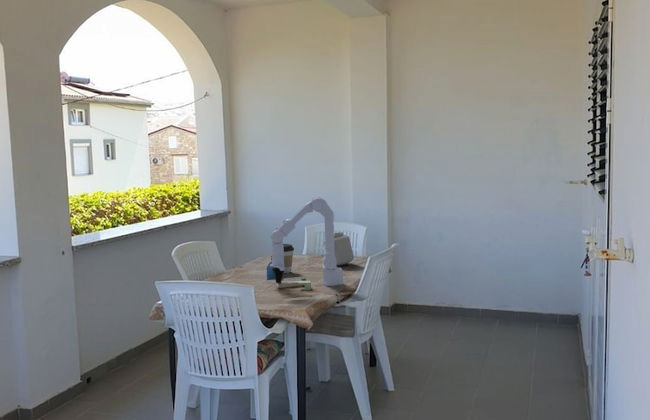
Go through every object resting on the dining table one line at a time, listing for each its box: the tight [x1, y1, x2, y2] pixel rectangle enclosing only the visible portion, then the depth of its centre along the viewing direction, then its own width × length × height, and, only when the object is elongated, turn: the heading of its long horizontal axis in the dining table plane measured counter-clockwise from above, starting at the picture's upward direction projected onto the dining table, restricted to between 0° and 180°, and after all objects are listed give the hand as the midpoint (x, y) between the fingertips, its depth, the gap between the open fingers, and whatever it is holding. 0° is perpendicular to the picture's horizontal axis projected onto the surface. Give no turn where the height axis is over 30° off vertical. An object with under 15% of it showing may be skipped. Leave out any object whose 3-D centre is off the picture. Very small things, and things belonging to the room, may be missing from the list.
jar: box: [321, 231, 355, 267], centre depth 349 cm, size 19×15×25 cm
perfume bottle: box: [266, 255, 276, 281], centre depth 317 cm, size 6×6×12 cm
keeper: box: [298, 280, 312, 290], centre depth 286 cm, size 4×6×3 cm
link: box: [276, 279, 308, 288], centre depth 291 cm, size 15×4×2 cm, turn 110°
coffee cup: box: [283, 243, 295, 274], centre depth 332 cm, size 11×11×15 cm
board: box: [271, 277, 321, 296], centre depth 286 cm, size 19×17×5 cm
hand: (278, 282), depth 295 cm, fingers closed
